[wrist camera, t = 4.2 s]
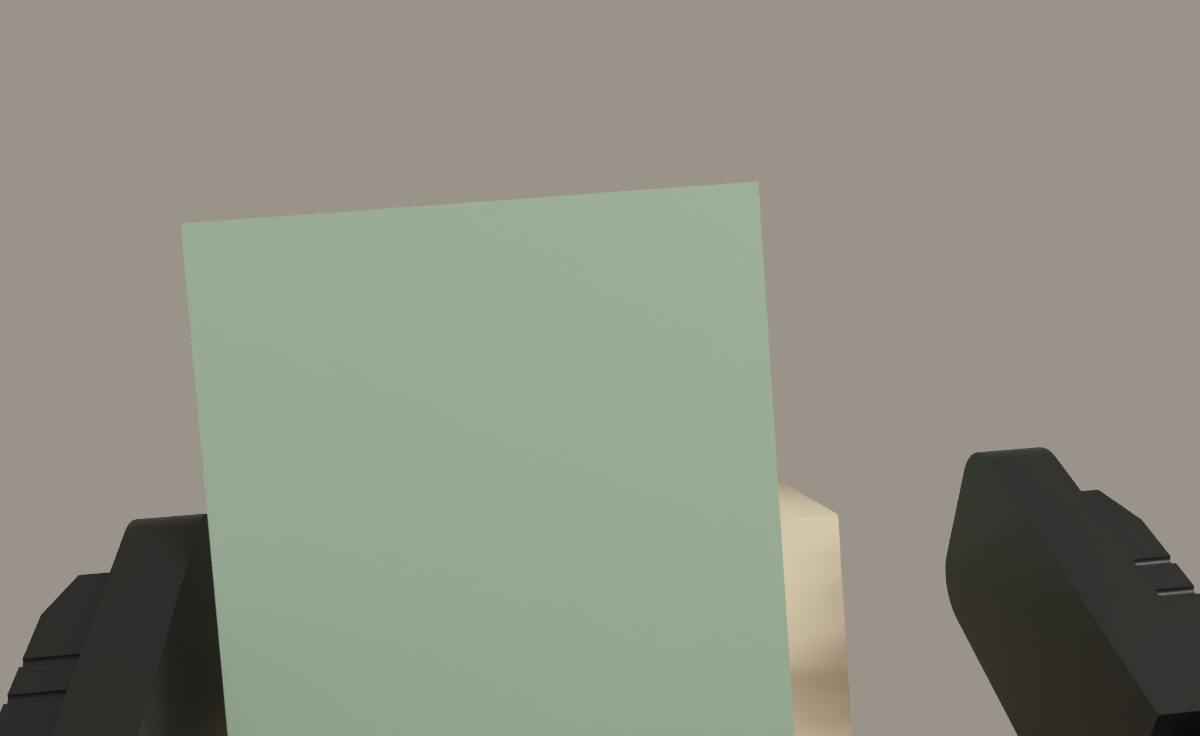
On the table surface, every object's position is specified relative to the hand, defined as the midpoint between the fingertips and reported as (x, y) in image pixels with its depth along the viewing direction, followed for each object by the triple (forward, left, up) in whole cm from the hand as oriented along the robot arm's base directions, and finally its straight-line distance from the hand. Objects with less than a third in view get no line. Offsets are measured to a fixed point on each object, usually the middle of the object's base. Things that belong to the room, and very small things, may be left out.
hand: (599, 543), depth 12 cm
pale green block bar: (0, +11, -1) cm, 11 cm away
